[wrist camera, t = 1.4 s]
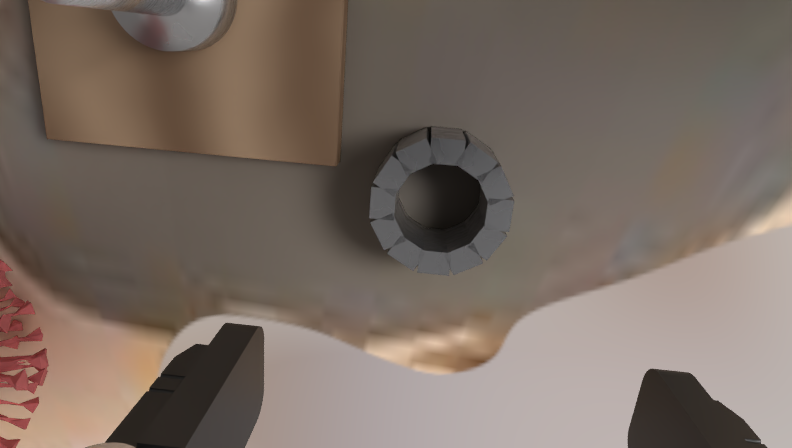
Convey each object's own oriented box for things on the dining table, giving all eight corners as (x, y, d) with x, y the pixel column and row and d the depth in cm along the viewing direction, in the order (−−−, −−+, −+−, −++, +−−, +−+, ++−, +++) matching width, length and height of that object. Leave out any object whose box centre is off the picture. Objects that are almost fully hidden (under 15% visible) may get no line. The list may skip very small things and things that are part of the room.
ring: (511, 133, 25) (523, 146, 22) (493, 254, 27) (501, 280, 24) (381, 121, 25) (375, 132, 22) (372, 242, 27) (365, 267, 24)
